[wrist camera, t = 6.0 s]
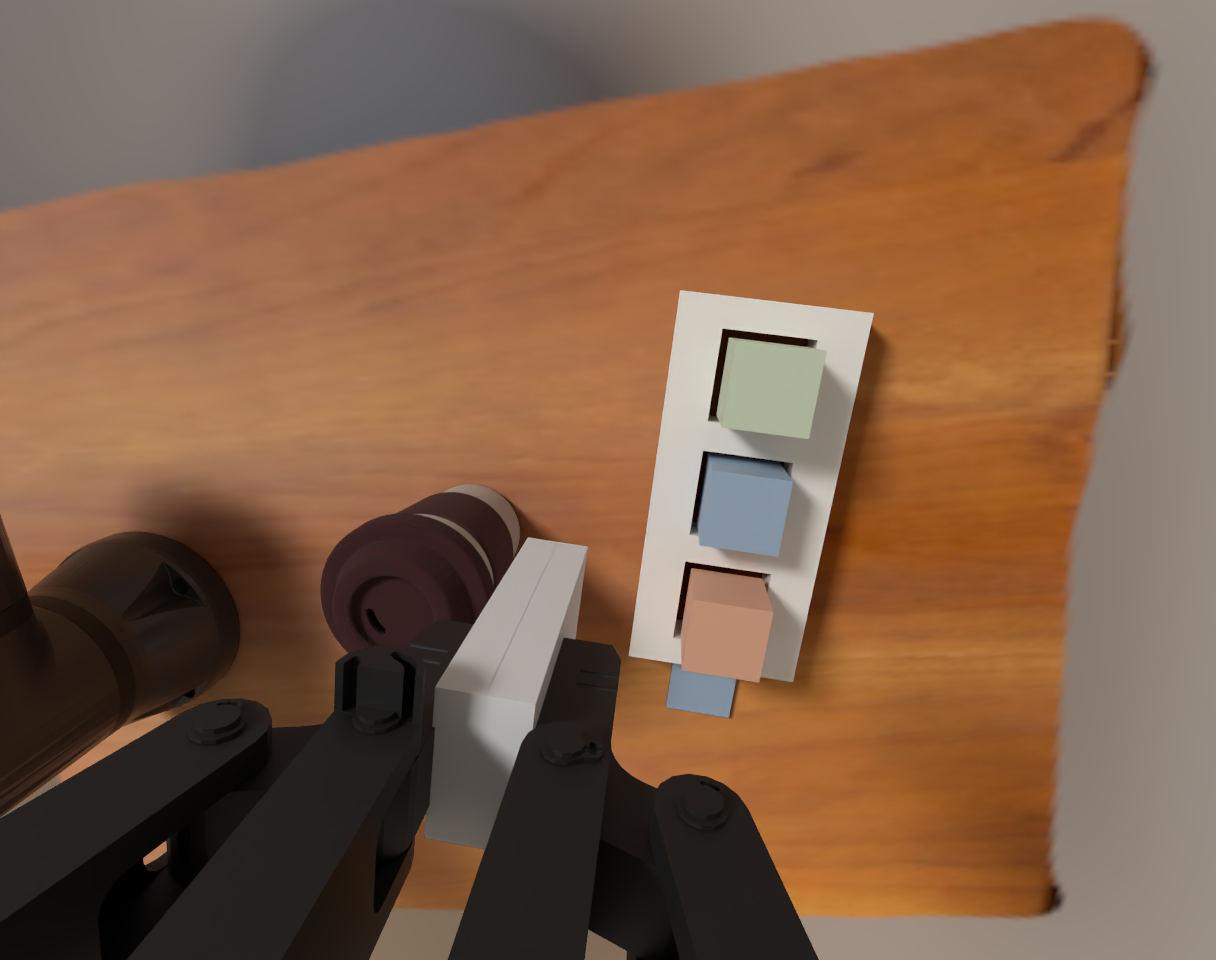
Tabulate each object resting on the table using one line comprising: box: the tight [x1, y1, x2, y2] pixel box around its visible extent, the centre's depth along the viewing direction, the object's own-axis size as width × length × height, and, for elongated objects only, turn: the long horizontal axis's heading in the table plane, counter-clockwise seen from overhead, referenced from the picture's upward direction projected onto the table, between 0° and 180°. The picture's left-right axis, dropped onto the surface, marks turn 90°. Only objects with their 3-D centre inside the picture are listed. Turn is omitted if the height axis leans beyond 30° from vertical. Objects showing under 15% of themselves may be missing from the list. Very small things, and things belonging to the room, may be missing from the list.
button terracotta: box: [681, 568, 773, 682], centre depth 43 cm, size 5×5×5 cm
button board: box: [629, 290, 874, 682], centre depth 44 cm, size 12×26×3 cm, turn 173°
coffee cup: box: [321, 484, 520, 653], centre depth 41 cm, size 10×10×15 cm
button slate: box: [697, 453, 793, 557], centre depth 42 cm, size 5×5×5 cm
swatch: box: [666, 663, 736, 718], centre depth 50 cm, size 5×5×1 cm
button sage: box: [716, 337, 827, 439], centre depth 38 cm, size 5×5×5 cm
